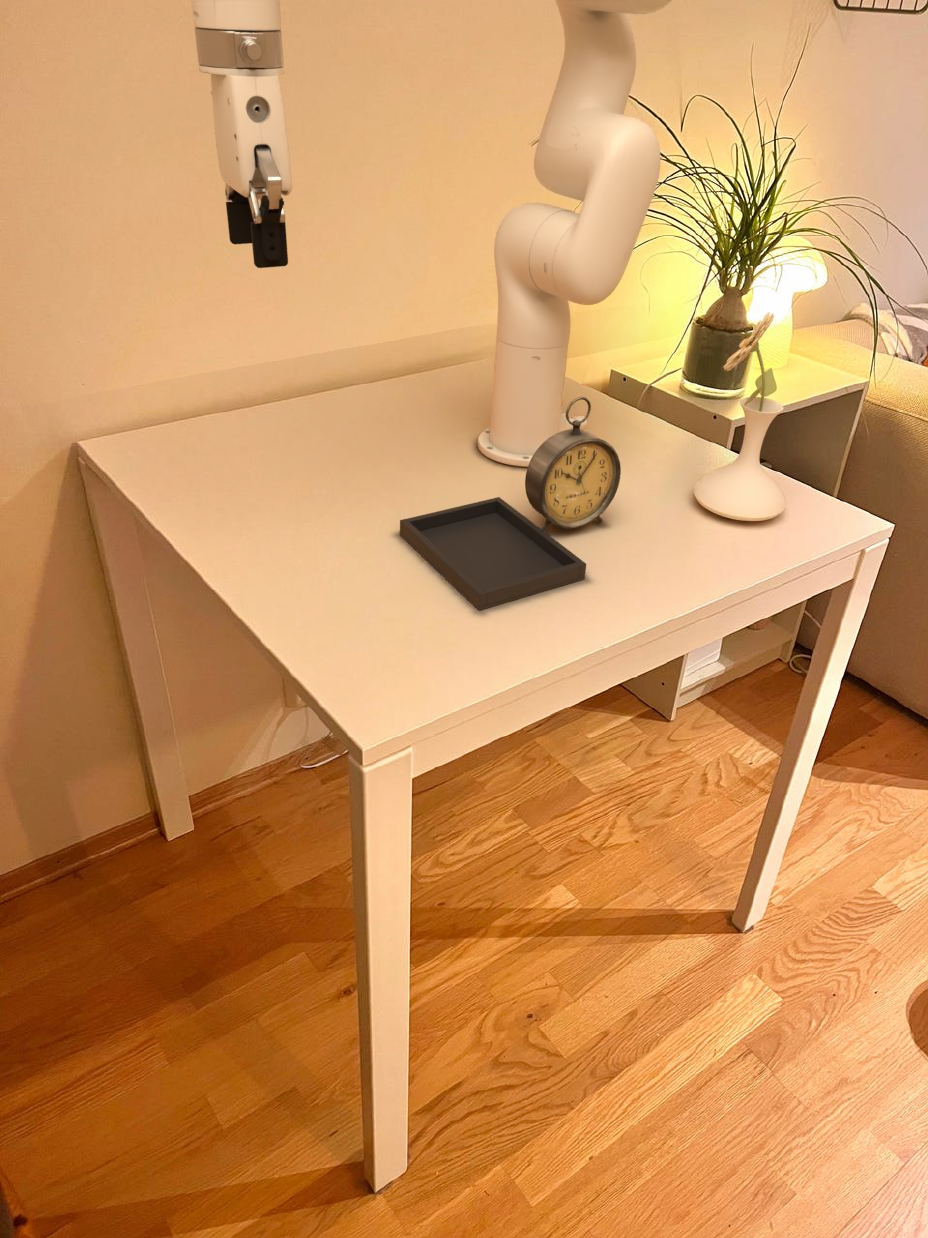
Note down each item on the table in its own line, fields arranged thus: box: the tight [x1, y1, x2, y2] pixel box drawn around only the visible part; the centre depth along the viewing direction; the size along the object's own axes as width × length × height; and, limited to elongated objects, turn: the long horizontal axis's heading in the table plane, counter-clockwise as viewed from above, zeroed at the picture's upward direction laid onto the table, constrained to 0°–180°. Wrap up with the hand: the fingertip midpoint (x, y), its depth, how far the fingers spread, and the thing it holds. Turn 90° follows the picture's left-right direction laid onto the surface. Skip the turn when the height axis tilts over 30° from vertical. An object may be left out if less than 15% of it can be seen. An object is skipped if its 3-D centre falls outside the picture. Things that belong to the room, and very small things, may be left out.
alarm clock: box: [524, 396, 622, 533], centre depth 105 cm, size 11×5×16 cm, turn 117°
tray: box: [399, 496, 587, 611], centre depth 102 cm, size 14×18×2 cm
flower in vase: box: [693, 311, 787, 522], centre depth 108 cm, size 13×11×25 cm
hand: (258, 253), depth 91 cm, fingers open, 9 cm apart
